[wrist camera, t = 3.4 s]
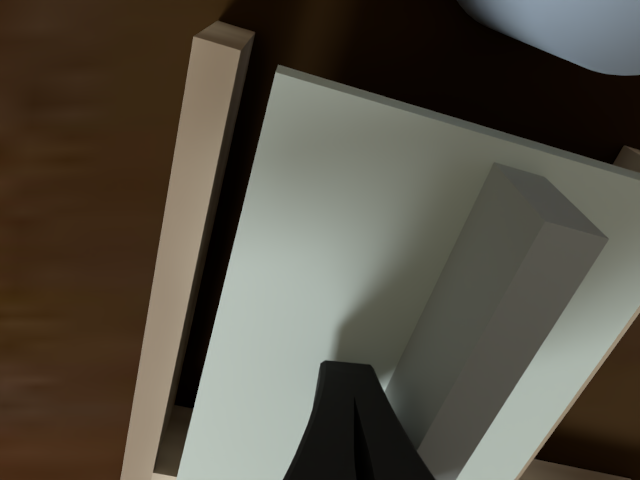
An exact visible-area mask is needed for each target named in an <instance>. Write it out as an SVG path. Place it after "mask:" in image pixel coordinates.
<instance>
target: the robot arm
mask: <svg viewBox="0 0 640 480" xmlns="http://www.w3.org/2000/svg"><path fill="white" fill-rule="evenodd" d="M283 480H436V479H435V478H434V476H433V475H432V473H431V472H430V470H429V469H428V467H427V466H426V464H425V463H424V461H423V460H422V458H421V457H420V455H419V453H418V452H417V450H416V449H415V447H414V445H413V444H412V442H411V441H410V439H409V437H408V435H407V434H406V432H405V430H404V428H403V427H402V425H401V423H400V421H399V420H398V418H397V416H396V414H395V412H394V410H393V408H392V406H391V404H390V403H389V401H388V399H387V397H386V395H385V392H384V390H383V388H382V386H381V384H380V382H379V380H378V377H377V375H376V373H375V370H374V368H373V367H372V366H371V365H370V364H360V363H349V362H339V361H329V360H325V361H323V362H322V363H320V368H319V374H318V379H317V385H316V391H315V397H314V402H313V408H312V412H311V415H310V418H309V421H308V424H307V427H306V429H305V432H304V434H303V436H302V439H301V441H300V444H299V446H298V449H297V451H296V453H295V455H294V458H293V460H292V462H291V464H290V466H289V468H288V470H287V472H286V474H285V476H284V478H283Z"/></svg>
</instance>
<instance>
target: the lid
mask: <svg viewBox="0 0 640 480" xmlns="http://www.w3.org/2000/svg"><path fill="white" fill-rule="evenodd" d="M639 306H640V173H638V172H635V171H631V170H628V169H625V168H621V167H618V166H615V165H611V164H608V163H605V162H601V161H598V160H595V159H591V158H588V157H585V156H581V155H578V154H575V153H571V152H568V151H565V150H561V149H558V148H555V147H551V146H548V145H545V144H541V143H538V142H535V141H531V140H528V139H525V138H521V137H518V136H515V135H511V134H508V133H505V132H501V131H498V130H495V129H491V128H488V127H485V126H481V125H478V124H475V123H471V122H468V121H465V120H461V119H458V118H455V117H451V116H448V115H445V114H441V113H438V112H435V111H431V110H428V109H425V108H421V107H418V106H415V105H411V104H408V103H405V102H401V101H398V100H394V99H391V98H388V97H384V96H381V95H378V94H374V93H371V92H368V91H364V90H361V89H358V88H354V87H351V86H348V85H344V84H341V83H338V82H334V81H331V80H328V79H324V78H321V77H318V76H314V75H311V74H308V73H304V72H301V71H298V70H294V69H291V68H288V67H284V66H281V65H278V67H277V69H276V72H275V76H274V81H273V85H272V89H271V93H270V97H269V101H268V105H267V109H266V113H265V117H264V122H263V126H262V130H261V134H260V138H259V142H258V146H257V150H256V154H255V158H254V163H253V167H252V171H251V175H250V179H249V183H248V187H247V191H246V195H245V200H244V204H243V208H242V212H241V216H240V220H239V224H238V228H237V232H236V236H235V241H234V245H233V249H232V253H231V257H230V261H229V265H228V269H227V273H226V278H225V282H224V286H223V290H222V294H221V298H220V302H219V306H218V310H217V314H216V319H215V323H214V327H213V331H212V335H211V339H210V343H209V347H208V351H207V355H206V360H205V364H204V368H203V372H202V376H201V380H200V384H199V388H198V392H197V397H196V401H195V405H194V409H193V413H192V417H191V421H190V425H189V429H188V433H187V438H186V442H185V446H184V450H183V454H182V458H181V462H180V466H179V470H178V475H177V479H176V480H283V478H284V476H285V474H286V472H287V470H288V468H289V466H290V464H291V462H292V460H293V458H294V455H295V453H296V451H297V449H298V446H299V444H300V441H301V439H302V436H303V434H304V432H305V429H306V427H307V424H308V421H309V418H310V415H311V412H312V408H313V402H314V397H315V391H316V385H317V379H318V374H319V368H320V363H322V362H323V361H325V360H329V361H339V362H349V363H360V364H370V365H371V366H372V367H373V368H374V370H375V373H376V375H377V377H378V380H379V382H380V384H381V386H382V388H383V390H384V392H385V395H386V397H387V399H388V401H389V403H390V404H391V406H392V408H393V410H394V412H395V414H396V416H397V418H398V420H399V421H400V423H401V425H402V427H403V428H404V430H405V432H406V434H407V435H408V437H409V439H410V441H411V442H412V444H413V445H414V447H415V449H416V450H417V452H418V453H419V455H420V457H421V458H422V460H423V461H424V463H425V464H426V466H427V467H428V469H429V470H430V472H431V473H432V475H433V476H434V478H435V479H436V480H515V478H516V477H517V475H518V474H519V473H520V471H521V470H522V468H523V467H524V466H525V464H526V463H527V461H528V460H529V459H530V457H531V456H532V455H533V453H534V452H535V450H536V449H537V448H538V446H539V445H540V443H541V442H542V441H543V439H544V438H545V436H546V435H547V434H548V432H549V431H550V430H551V428H552V427H553V425H554V424H555V423H556V421H557V420H558V418H559V417H560V416H561V414H562V413H563V411H564V410H565V409H566V407H567V406H568V404H569V403H570V402H571V400H572V399H573V398H574V396H575V395H576V393H577V392H578V391H579V389H580V388H581V386H582V385H583V384H584V382H585V381H586V379H587V378H588V377H589V375H590V374H591V372H592V371H593V370H594V368H595V367H596V366H597V364H598V363H599V361H600V360H601V359H602V357H603V356H604V354H605V353H606V352H607V350H608V349H609V347H610V346H611V345H612V343H613V342H614V340H615V339H616V338H617V336H618V335H619V334H620V332H621V331H622V329H623V328H624V327H625V325H626V324H627V322H628V321H629V320H630V318H631V317H632V315H633V314H634V313H635V311H636V310H637V308H638V307H639Z"/></svg>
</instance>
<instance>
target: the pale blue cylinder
mask: <svg viewBox="0 0 640 480" xmlns="http://www.w3.org/2000/svg"><path fill="white" fill-rule="evenodd" d="M457 2H458V3H459V5H460V6H461V7H462V9H463V10H464V11H465V12H466V13H467V14H468V15H469V16H470V17H471V18H473V19H474V20H475V21H477V22H478V23H480V24H482V25H483V26H485V27H488V28H490V29H492V30H495V31H497V32H500V33H502V34H504V35H507V36H509V37H512V38H514V39H517V40H519V41H521V42H524V43H526V44H529V45H531V46H533V47H536V48H538V49H541V50H543V51H546V52H548V53H550V54H553V55H555V56H558V57H560V58H563V59H565V60H567V61H570V62H572V63H575V64H577V65H579V66H582V67H584V68H587V69H589V70H592V71H596V72H600V73H604V74H611V75H622V76H626V75H640V0H457Z"/></svg>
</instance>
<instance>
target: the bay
mask: <svg viewBox="0 0 640 480" xmlns="http://www.w3.org/2000/svg"><path fill="white" fill-rule="evenodd" d="M254 36H255V32H253V31H250V30H246V29H243V28H240V27H237V26H233V25H230V24H227V23H224V22H220V21H216V22H215V23H213V24H212V25H210V26H209V27H207V28H206V29H204V30H203V31H201V32H200V33H198V34H197V35H195V36H194V37H193V43H192V49H191V55H190V62H189V68H188V74H187V80H186V86H185V92H184V98H183V104H182V110H181V116H180V122H179V128H178V134H177V140H176V146H175V152H174V158H173V164H172V170H171V177H170V183H169V189H168V195H167V201H166V207H165V213H164V219H163V225H162V231H161V237H160V243H159V249H158V255H157V261H156V267H155V273H154V279H153V285H152V292H151V298H150V304H149V310H148V316H147V322H146V328H145V334H144V340H143V346H142V352H141V358H140V364H139V370H138V376H137V382H136V388H135V394H134V400H133V407H132V413H131V419H130V425H129V431H128V437H127V443H126V449H125V455H124V461H123V467H122V473H121V479H120V480H176V479H177V475H178V470H179V466H180V462H181V458H182V454H183V450H184V446H185V442H186V438H187V433H188V429H189V425H190V421H191V417H192V413H193V408H188V407H183V406H178V405H174V403H175V399H176V394H177V390H178V385H179V381H180V376H181V371H182V367H183V362H184V358H185V353H186V348H187V344H188V339H189V335H190V330H191V325H192V321H193V316H194V312H195V307H196V303H197V298H198V293H199V289H200V284H201V280H202V275H203V270H204V266H205V261H206V257H207V252H208V247H209V243H210V238H211V234H212V229H213V224H214V220H215V215H216V211H217V206H218V202H219V197H220V192H221V188H222V183H223V179H224V174H225V169H226V165H227V160H228V156H229V151H230V146H231V142H232V137H233V133H234V128H235V124H236V119H237V114H238V110H239V105H240V101H241V96H242V91H243V87H244V82H245V78H246V73H247V68H248V64H249V59H250V55H251V50H252V45H253V41H254ZM613 165H615V166H618V167H621V168H625V169H628V170H631V171H635V172H638V173H640V150H638V149H634V148H631V147H628V146H625V145H624V146H623V148H622V150H621V151H620V153H619V155H618V156H617V158H616V160H615V161H614V163H613ZM639 313H640V306H639V307H638V308H637V310H636V311H635V313H634V314H633V315H632V317H631V318H630V320H629V321H628V322H627V324H626V325H625V327H624V328H623V329H622V331H621V332H620V334H619V335H618V336H617V338H616V339H615V340H614V342H613V343H612V345H611V346H610V347H609V349H608V350H607V352H606V353H605V354H604V356H603V357H602V359H601V360H600V361H599V363H598V364H597V366H596V367H595V368H594V370H593V371H592V372H591V374H590V375H589V377H588V378H587V379H586V381H585V382H584V384H583V385H582V386H581V388H580V389H579V391H578V392H577V393H576V395H575V396H574V398H573V399H572V400H571V402H570V403H569V404H568V406H567V407H566V409H565V410H564V411H563V413H562V414H561V416H560V417H559V418H558V420H557V421H556V423H555V424H554V425H553V427H552V428H551V430H550V431H549V432H548V434H547V435H546V436H545V438H544V439H543V441H542V442H541V443H540V445H539V446H538V448H537V449H536V450H535V452H534V453H533V455H532V456H531V457H530V459H529V460H528V461H527V463H526V464H525V466H524V467H523V468H522V470H521V471H520V473H519V474H518V475H517V477H516V478H515V480H631V479H629V478H624V477H620V476H615V475H610V474H605V473H600V472H595V471H590V470H585V469H580V468H576V467H571V466H566V465H561V464H556V463H551V462H546V461H541V460H536V459H534V458H535V456H536V455H537V453H538V452H539V451H540V449H541V448H542V447H543V445H544V444H545V442H546V441H547V440H548V438H549V437H550V436H551V434H552V433H553V431H554V430H555V429H556V427H557V426H558V424H559V423H560V422H561V420H562V419H563V418H564V416H565V415H566V413H567V412H568V411H569V409H570V408H571V407H572V405H573V404H574V402H575V401H576V400H577V398H578V397H579V395H580V394H581V393H582V391H583V390H584V389H585V387H586V386H587V384H588V383H589V382H590V380H591V379H592V378H593V376H594V375H595V373H596V372H597V371H598V369H599V368H600V367H601V365H602V364H603V362H604V361H605V360H606V358H607V357H608V355H609V354H610V353H611V351H612V350H613V349H614V347H615V346H616V344H617V343H618V342H619V340H620V339H621V338H622V336H623V335H624V333H625V332H626V331H627V329H628V328H629V326H630V325H631V324H632V322H633V321H634V320H635V318H636V317H637V315H638V314H639Z"/></svg>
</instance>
